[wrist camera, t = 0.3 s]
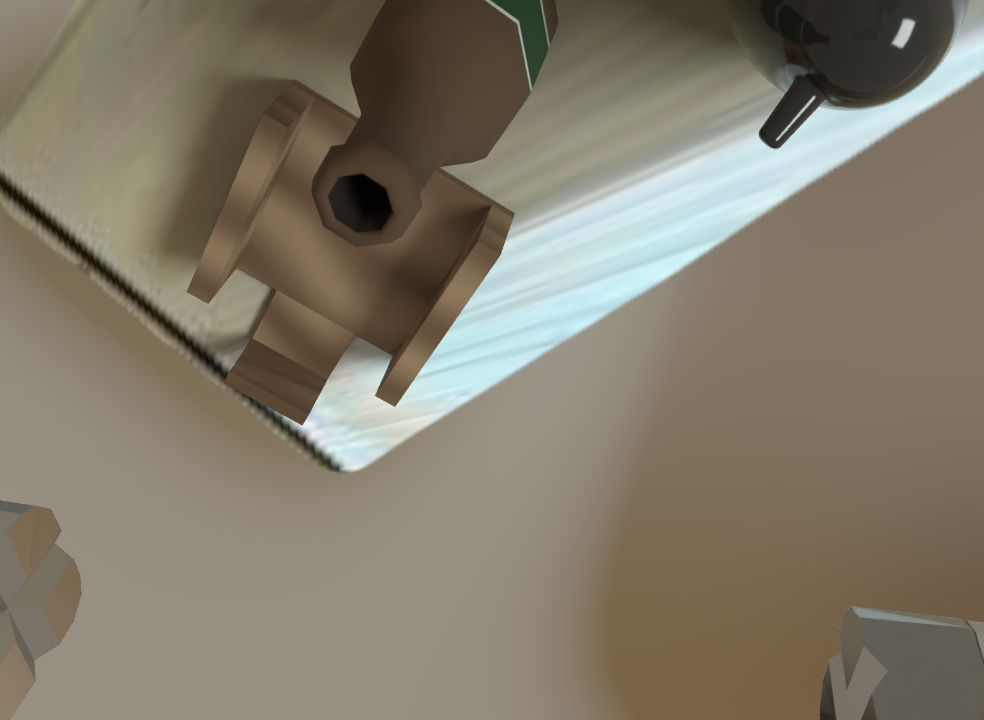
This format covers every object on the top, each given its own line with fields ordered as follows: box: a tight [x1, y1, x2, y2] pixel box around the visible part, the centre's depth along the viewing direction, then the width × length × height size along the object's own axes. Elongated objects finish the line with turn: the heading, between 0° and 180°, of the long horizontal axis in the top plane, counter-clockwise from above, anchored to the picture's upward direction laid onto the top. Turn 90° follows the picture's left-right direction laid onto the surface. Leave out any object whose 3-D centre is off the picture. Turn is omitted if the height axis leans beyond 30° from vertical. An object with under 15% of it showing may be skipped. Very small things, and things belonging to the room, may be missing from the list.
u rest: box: [187, 80, 515, 425], centre depth 59 cm, size 20×15×5 cm
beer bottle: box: [311, 0, 558, 247], centre depth 40 cm, size 8×8×24 cm
